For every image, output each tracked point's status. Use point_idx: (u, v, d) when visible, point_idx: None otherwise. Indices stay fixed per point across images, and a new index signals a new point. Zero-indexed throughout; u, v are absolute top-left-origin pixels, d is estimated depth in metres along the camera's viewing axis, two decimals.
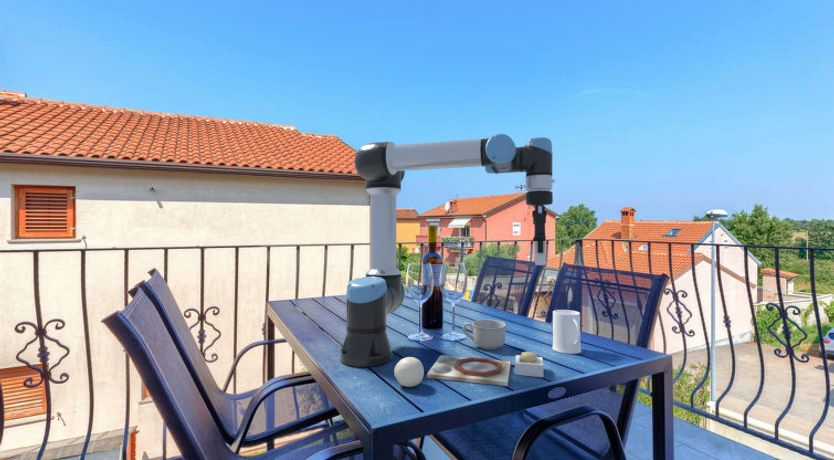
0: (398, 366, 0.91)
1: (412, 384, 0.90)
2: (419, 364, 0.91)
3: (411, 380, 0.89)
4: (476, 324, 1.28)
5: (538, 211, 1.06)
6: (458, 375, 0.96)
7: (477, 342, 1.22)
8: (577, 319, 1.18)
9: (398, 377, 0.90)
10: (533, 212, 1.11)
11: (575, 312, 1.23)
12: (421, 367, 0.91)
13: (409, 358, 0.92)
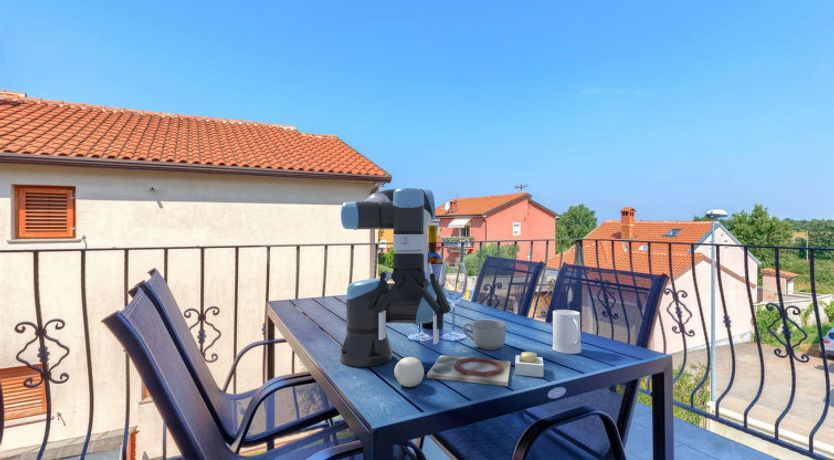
0: (398, 366, 0.91)
1: (412, 384, 0.90)
2: (419, 364, 0.91)
3: (411, 380, 0.89)
4: (476, 324, 1.28)
5: None
6: (458, 375, 0.96)
7: (477, 342, 1.22)
8: (577, 319, 1.18)
9: (398, 377, 0.90)
10: None
11: (575, 312, 1.23)
12: (421, 367, 0.91)
13: (409, 358, 0.92)
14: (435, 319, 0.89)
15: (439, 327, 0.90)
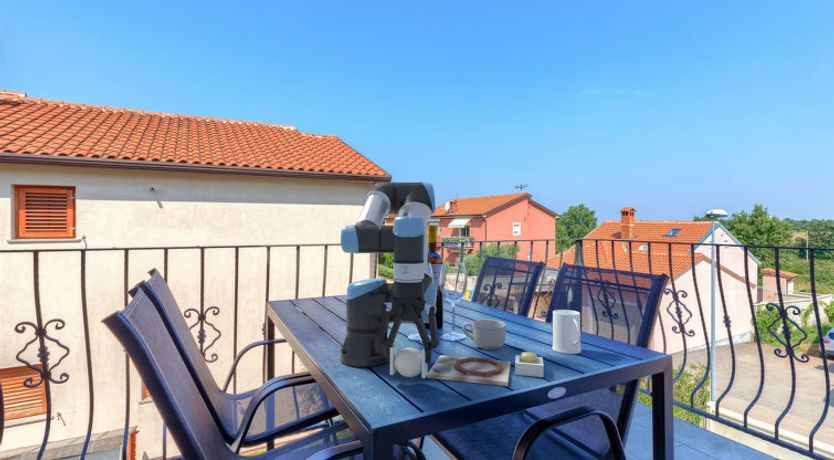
0: (398, 356, 0.92)
1: (412, 374, 0.90)
2: (419, 354, 0.92)
3: (411, 370, 0.90)
4: (476, 324, 1.28)
5: None
6: (458, 375, 0.96)
7: (477, 342, 1.22)
8: (577, 319, 1.18)
9: (398, 368, 0.91)
10: None
11: (575, 312, 1.23)
12: (421, 357, 0.92)
13: (409, 349, 0.93)
14: (423, 354, 0.91)
15: (427, 361, 0.91)
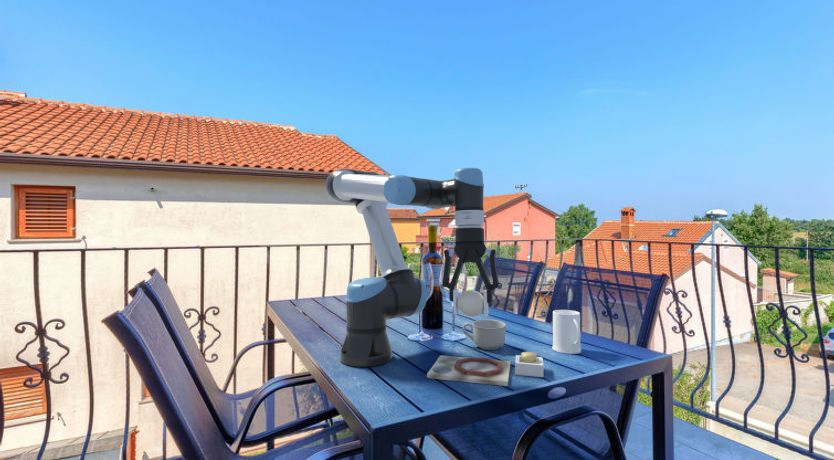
0: (461, 297, 0.99)
1: (475, 312, 0.97)
2: (481, 295, 0.99)
3: (474, 308, 0.97)
4: (476, 324, 1.28)
5: None
6: (458, 375, 0.96)
7: (477, 342, 1.22)
8: (577, 319, 1.18)
9: (462, 307, 0.98)
10: None
11: (575, 312, 1.23)
12: (483, 298, 0.99)
13: (471, 290, 1.00)
14: (485, 294, 0.98)
15: (489, 301, 0.98)
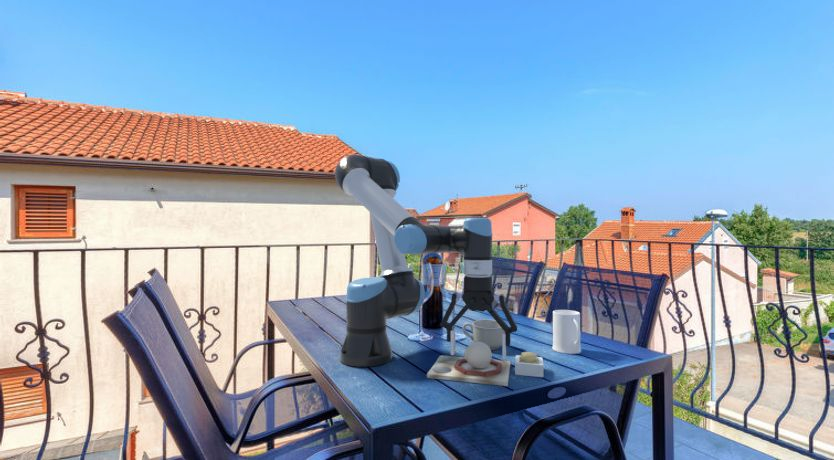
0: (469, 350, 1.01)
1: (483, 366, 0.99)
2: (488, 348, 1.01)
3: (482, 362, 0.98)
4: (476, 324, 1.28)
5: None
6: (458, 375, 0.96)
7: None
8: (577, 319, 1.18)
9: (470, 360, 1.00)
10: None
11: (575, 312, 1.23)
12: (490, 350, 1.01)
13: (478, 342, 1.02)
14: (504, 337, 0.99)
15: (507, 344, 0.99)
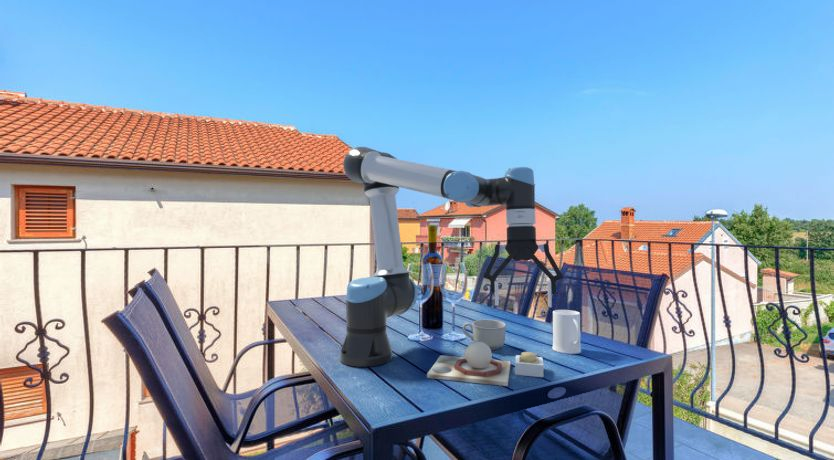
0: (469, 350, 1.01)
1: (483, 366, 0.99)
2: (488, 348, 1.01)
3: (482, 362, 0.98)
4: (476, 324, 1.28)
5: None
6: (458, 375, 0.96)
7: None
8: (577, 319, 1.18)
9: (470, 360, 1.00)
10: None
11: (575, 312, 1.23)
12: (490, 350, 1.01)
13: (478, 342, 1.02)
14: (550, 285, 0.99)
15: (553, 292, 0.99)
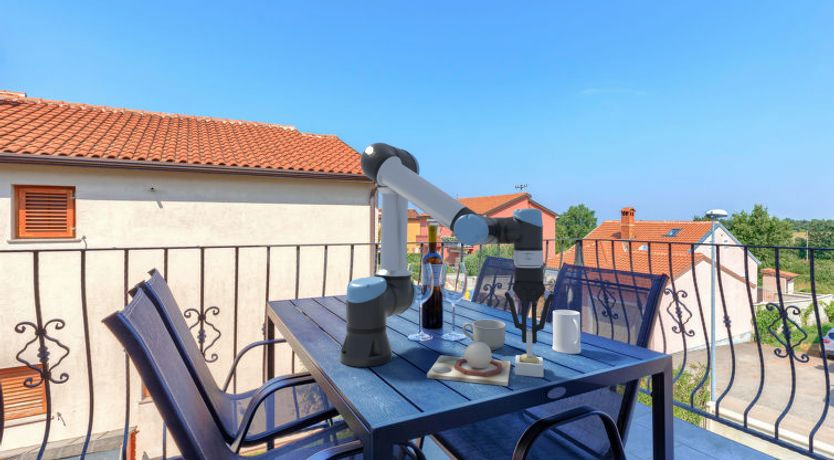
0: (469, 350, 1.01)
1: (483, 365, 0.99)
2: (488, 348, 1.01)
3: (482, 362, 0.98)
4: (476, 324, 1.28)
5: None
6: (458, 375, 0.96)
7: None
8: (577, 319, 1.18)
9: (470, 360, 1.00)
10: None
11: (575, 312, 1.23)
12: (490, 350, 1.01)
13: (478, 342, 1.02)
14: (531, 335, 1.01)
15: (534, 342, 1.01)
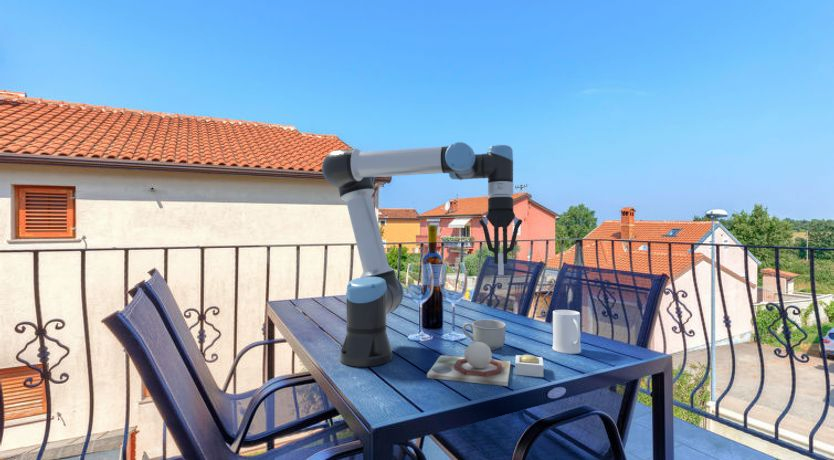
0: (469, 350, 1.00)
1: (483, 366, 0.99)
2: (488, 348, 1.01)
3: (482, 362, 0.98)
4: (476, 324, 1.28)
5: None
6: (458, 375, 0.96)
7: None
8: (577, 319, 1.18)
9: (470, 360, 1.00)
10: None
11: (575, 312, 1.23)
12: (490, 350, 1.01)
13: (478, 342, 1.02)
14: (502, 256, 1.15)
15: (505, 262, 1.15)
